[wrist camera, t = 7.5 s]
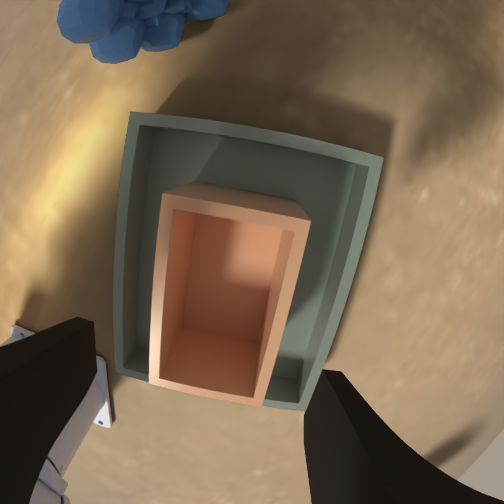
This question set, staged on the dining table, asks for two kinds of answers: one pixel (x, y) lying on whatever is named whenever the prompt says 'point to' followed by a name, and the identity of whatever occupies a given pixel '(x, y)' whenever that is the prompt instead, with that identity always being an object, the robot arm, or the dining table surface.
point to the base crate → (252, 179)
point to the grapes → (131, 24)
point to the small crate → (223, 289)
